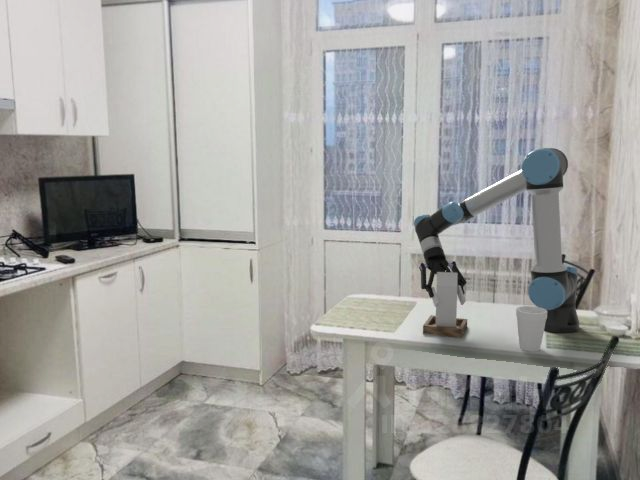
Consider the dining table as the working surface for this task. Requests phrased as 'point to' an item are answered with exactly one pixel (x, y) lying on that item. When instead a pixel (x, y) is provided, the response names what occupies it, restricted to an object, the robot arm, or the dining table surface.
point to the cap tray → (445, 328)
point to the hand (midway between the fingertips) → (450, 303)
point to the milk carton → (446, 299)
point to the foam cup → (530, 327)
